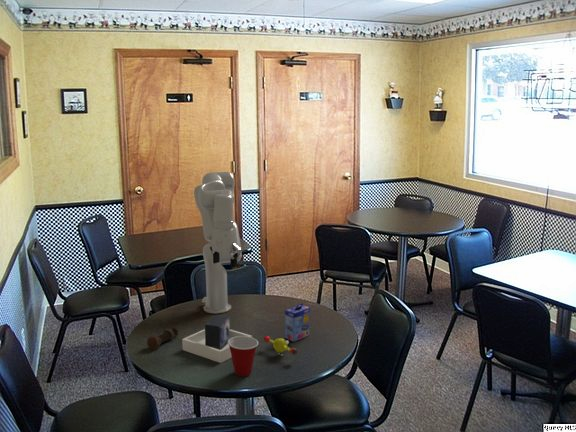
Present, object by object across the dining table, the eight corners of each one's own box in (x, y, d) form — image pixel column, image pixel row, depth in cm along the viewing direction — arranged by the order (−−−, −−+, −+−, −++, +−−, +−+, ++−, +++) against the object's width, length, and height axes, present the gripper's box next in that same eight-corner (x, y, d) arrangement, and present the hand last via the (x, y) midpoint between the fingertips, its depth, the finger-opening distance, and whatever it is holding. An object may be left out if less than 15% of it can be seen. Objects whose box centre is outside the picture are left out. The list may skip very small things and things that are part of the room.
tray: (182, 350, 227) (182, 339, 226) (214, 335, 241) (214, 324, 240) (220, 363, 215) (220, 351, 214) (252, 346, 229) (251, 335, 228)
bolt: (177, 340, 241) (154, 353, 228) (168, 332, 242) (144, 345, 229) (182, 329, 239) (159, 342, 226) (173, 322, 240) (150, 334, 227)
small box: (220, 352, 222) (219, 326, 220) (204, 350, 224) (203, 324, 222) (230, 341, 232) (230, 316, 230) (215, 339, 234) (214, 314, 232)
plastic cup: (259, 379, 202) (259, 346, 200) (228, 380, 202) (227, 348, 199) (258, 365, 213) (258, 334, 211) (228, 366, 212) (227, 335, 210)
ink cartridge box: (294, 342, 233) (294, 307, 230) (284, 338, 237) (283, 304, 234) (310, 335, 240) (310, 301, 237) (300, 331, 244) (300, 298, 241)
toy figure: (302, 360, 216) (302, 343, 215) (291, 365, 213) (290, 347, 211) (271, 346, 230) (270, 329, 228) (260, 350, 226) (259, 333, 225)
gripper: (202, 223, 237) (203, 263, 241) (233, 230, 227) (234, 271, 231) (215, 219, 243) (216, 258, 247) (246, 226, 233) (247, 266, 237)
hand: (225, 265), depth 239 cm, fingers open, 9 cm apart
